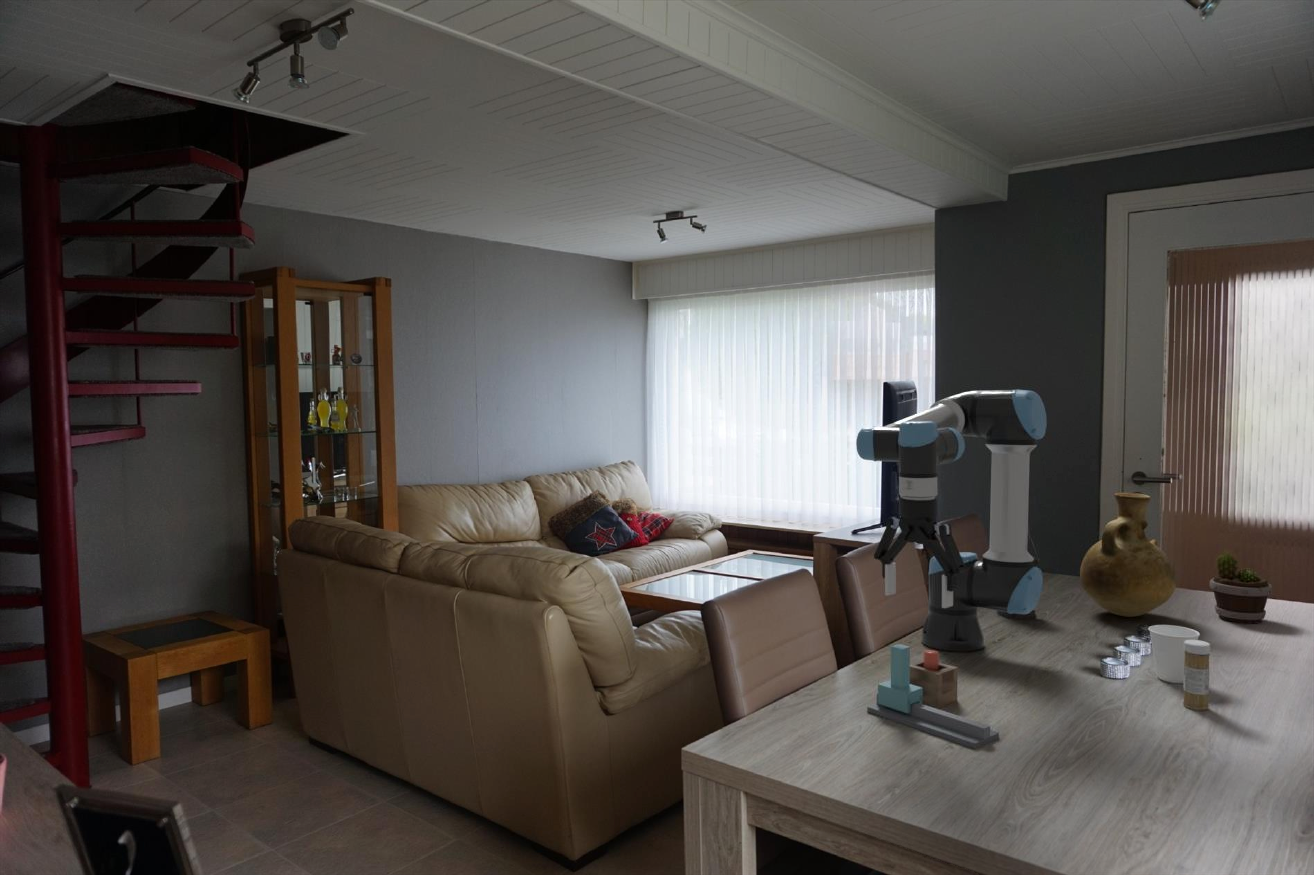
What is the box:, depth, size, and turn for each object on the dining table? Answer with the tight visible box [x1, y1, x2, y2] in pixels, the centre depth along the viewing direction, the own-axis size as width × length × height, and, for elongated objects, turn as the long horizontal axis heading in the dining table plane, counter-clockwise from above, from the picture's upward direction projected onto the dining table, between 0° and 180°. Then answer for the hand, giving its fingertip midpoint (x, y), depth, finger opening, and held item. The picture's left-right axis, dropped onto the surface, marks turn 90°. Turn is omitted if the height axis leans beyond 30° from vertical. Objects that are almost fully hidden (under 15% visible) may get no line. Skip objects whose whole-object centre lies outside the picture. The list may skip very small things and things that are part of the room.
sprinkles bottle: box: [1182, 639, 1211, 711], centre depth 177 cm, size 5×5×14 cm
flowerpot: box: [1209, 549, 1273, 624], centre depth 243 cm, size 14×15×20 cm
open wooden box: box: [910, 658, 959, 709], centre depth 183 cm, size 8×7×7 cm
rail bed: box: [866, 692, 1000, 750], centre depth 169 cm, size 24×8×3 cm, turn 39°
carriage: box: [877, 643, 923, 713], centre depth 174 cm, size 7×5×12 cm
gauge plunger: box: [923, 649, 940, 671], centre depth 182 cm, size 3×3×4 cm
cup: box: [1147, 624, 1201, 684], centre depth 194 cm, size 10×10×11 cm
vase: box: [1079, 492, 1177, 618], centre depth 248 cm, size 24×24×35 cm
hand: (918, 600), depth 178 cm, fingers open, 13 cm apart
